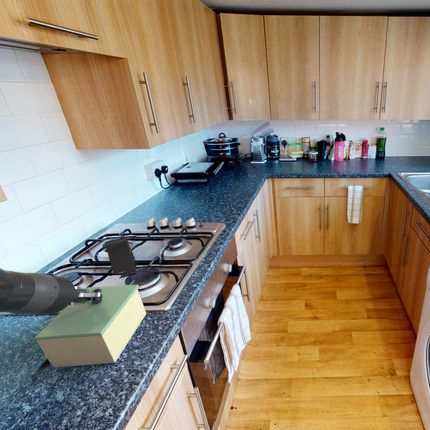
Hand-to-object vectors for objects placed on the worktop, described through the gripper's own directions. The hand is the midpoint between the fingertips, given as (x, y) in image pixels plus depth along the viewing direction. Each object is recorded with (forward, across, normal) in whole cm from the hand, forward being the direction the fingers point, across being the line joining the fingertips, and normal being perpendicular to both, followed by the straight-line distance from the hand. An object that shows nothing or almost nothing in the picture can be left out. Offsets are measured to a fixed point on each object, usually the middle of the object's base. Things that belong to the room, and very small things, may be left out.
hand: (98, 298), depth 72 cm
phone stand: (+26, +10, -12) cm, 31 cm away
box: (+5, 0, +10) cm, 11 cm away
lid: (-1, 0, +3) cm, 3 cm away
